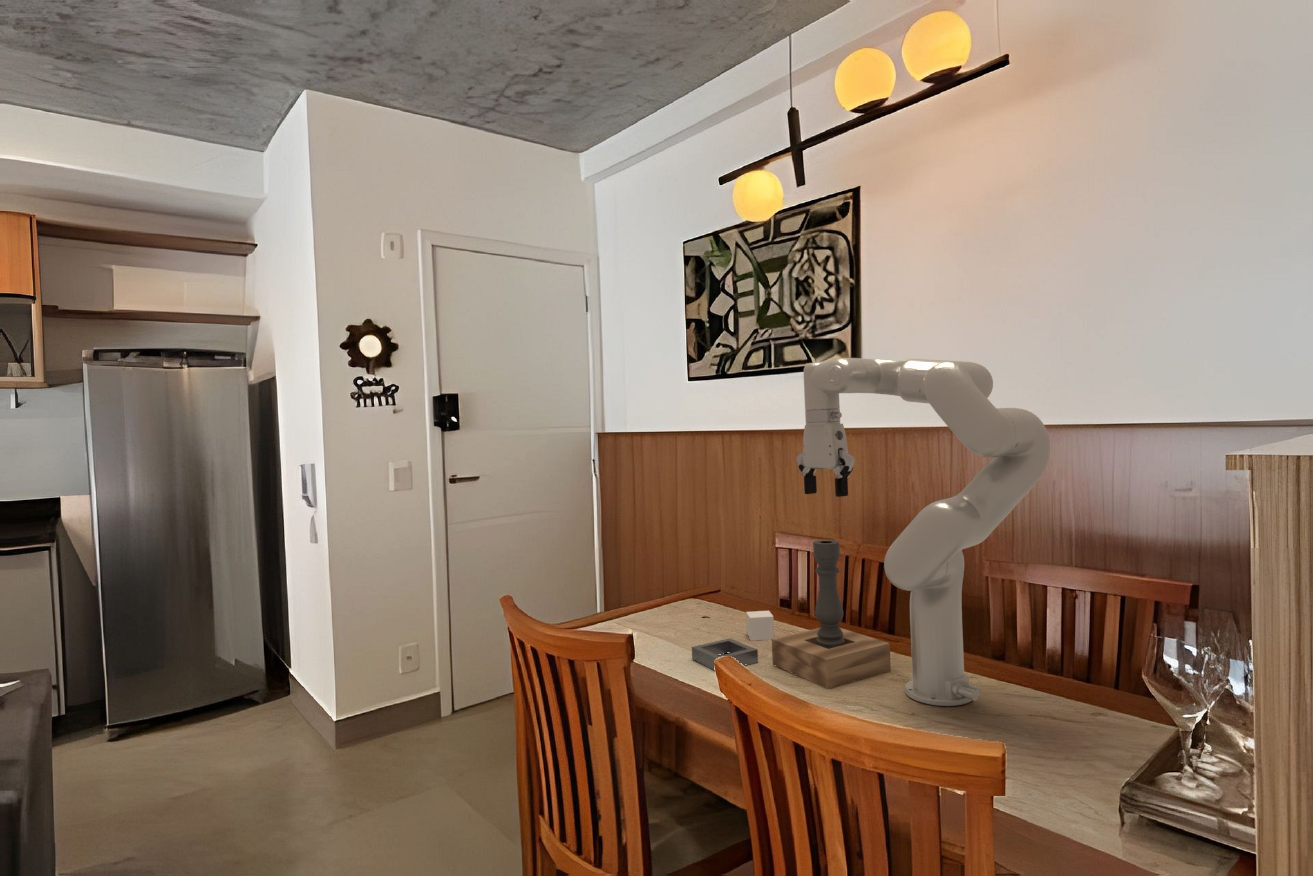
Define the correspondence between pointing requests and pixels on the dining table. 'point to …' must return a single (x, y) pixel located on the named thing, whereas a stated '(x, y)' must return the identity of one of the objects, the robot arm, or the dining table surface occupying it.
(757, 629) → the white cube
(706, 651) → the metal collar
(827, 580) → the candle holder
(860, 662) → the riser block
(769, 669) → the dining table surface
